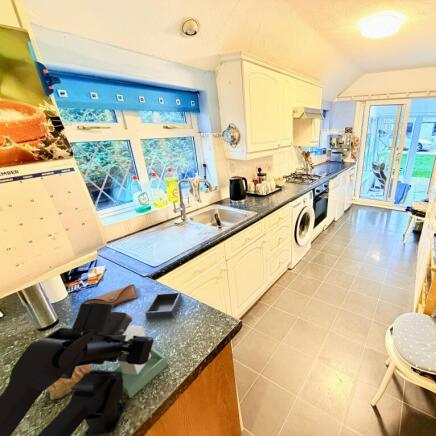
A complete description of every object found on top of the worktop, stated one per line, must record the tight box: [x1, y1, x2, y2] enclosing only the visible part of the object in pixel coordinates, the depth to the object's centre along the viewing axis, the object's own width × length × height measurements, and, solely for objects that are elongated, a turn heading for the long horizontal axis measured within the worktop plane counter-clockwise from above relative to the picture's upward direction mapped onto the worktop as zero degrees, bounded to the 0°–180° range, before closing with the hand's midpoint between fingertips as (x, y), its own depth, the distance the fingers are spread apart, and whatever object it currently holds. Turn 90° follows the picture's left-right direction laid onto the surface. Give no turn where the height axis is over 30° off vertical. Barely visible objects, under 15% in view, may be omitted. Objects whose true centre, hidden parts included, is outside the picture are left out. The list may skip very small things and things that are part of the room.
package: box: [117, 324, 151, 375], centre depth 68 cm, size 6×5×12 cm
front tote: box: [111, 347, 168, 399], centre depth 71 cm, size 11×10×4 cm
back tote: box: [144, 291, 183, 320], centre depth 96 cm, size 11×10×4 cm
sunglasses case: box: [83, 284, 139, 308], centre depth 99 cm, size 18×7×7 cm, turn 133°
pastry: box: [47, 364, 93, 401], centre depth 68 cm, size 9×7×4 cm
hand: (136, 344), depth 69 cm, fingers closed on package, 4 cm apart
